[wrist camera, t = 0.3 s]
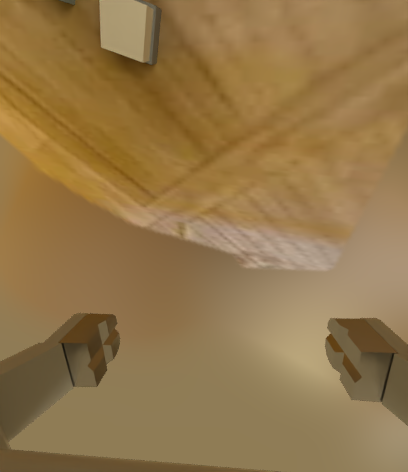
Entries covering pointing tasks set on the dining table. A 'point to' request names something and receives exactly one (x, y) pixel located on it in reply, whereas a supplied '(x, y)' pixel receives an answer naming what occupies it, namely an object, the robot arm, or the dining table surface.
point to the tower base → (154, 32)
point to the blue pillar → (69, 1)
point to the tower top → (126, 28)
